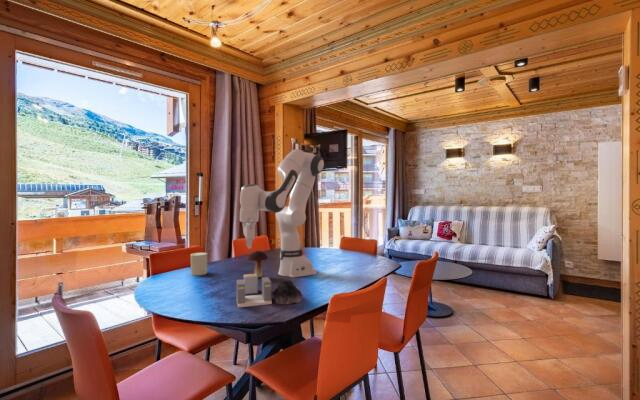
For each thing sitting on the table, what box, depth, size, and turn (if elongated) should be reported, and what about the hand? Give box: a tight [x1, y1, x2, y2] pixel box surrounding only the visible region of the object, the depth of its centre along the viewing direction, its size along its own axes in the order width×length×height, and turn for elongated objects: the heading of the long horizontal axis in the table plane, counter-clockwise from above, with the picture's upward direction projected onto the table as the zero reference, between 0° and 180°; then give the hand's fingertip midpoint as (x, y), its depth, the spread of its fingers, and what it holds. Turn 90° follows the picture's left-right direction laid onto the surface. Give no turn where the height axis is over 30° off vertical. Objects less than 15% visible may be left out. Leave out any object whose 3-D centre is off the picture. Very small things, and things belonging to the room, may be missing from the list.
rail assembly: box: [235, 276, 273, 308], centre depth 139 cm, size 14×11×9 cm
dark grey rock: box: [273, 280, 303, 305], centre depth 141 cm, size 14×14×10 cm
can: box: [190, 252, 208, 276], centre depth 187 cm, size 9×9×12 cm
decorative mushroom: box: [247, 250, 269, 279], centre depth 178 cm, size 11×11×15 cm
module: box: [243, 273, 259, 295], centre depth 152 cm, size 6×5×8 cm
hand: (248, 246), depth 153 cm, fingers open, 8 cm apart
